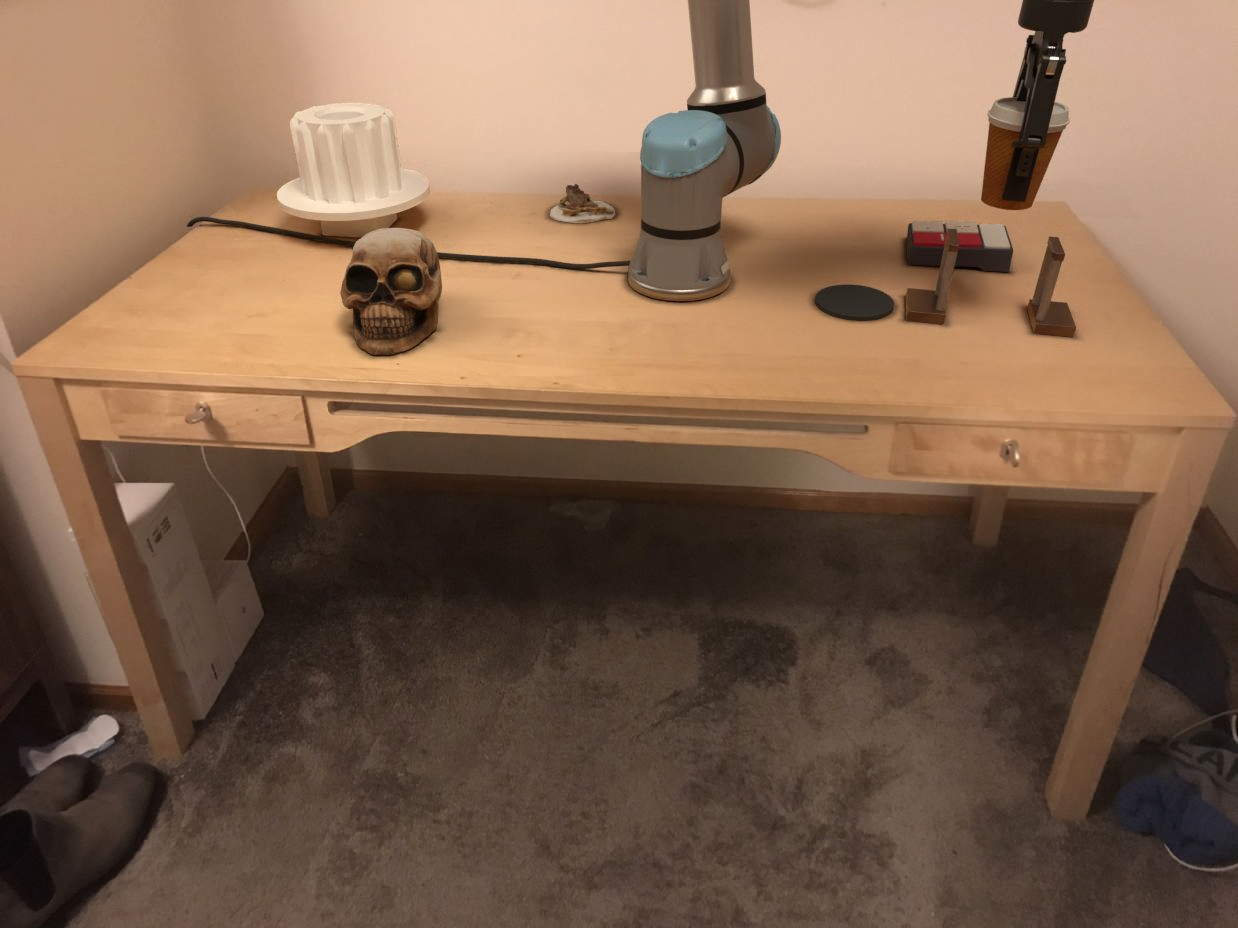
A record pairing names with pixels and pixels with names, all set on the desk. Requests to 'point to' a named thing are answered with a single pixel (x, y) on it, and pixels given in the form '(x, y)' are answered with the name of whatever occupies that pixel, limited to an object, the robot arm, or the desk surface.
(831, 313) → the coaster
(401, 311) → the brown skull
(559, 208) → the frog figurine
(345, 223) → the ribbed cylinder on disc
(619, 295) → the desk surface
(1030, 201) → the disposable coffee cup
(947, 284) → the bookends
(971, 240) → the calculator
